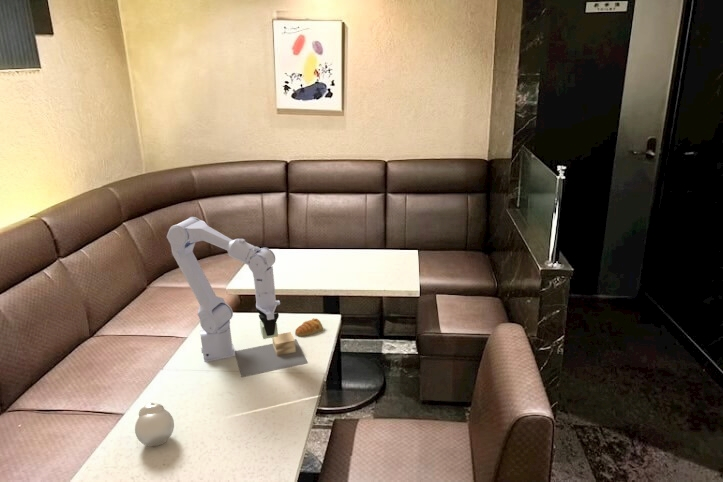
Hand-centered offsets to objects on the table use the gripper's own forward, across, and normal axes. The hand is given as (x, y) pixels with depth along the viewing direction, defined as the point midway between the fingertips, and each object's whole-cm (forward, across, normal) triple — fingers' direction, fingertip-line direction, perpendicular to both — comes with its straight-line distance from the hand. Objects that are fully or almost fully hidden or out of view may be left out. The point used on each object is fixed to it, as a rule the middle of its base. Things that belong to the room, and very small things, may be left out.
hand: (269, 331), depth 163 cm
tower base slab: (+10, +4, -5) cm, 11 cm away
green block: (+1, 0, 0) cm, 1 cm away
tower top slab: (+8, +4, -5) cm, 10 cm away
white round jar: (+10, -27, +33) cm, 44 cm away
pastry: (+10, +14, -15) cm, 23 cm away
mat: (+10, +1, 0) cm, 10 cm away
